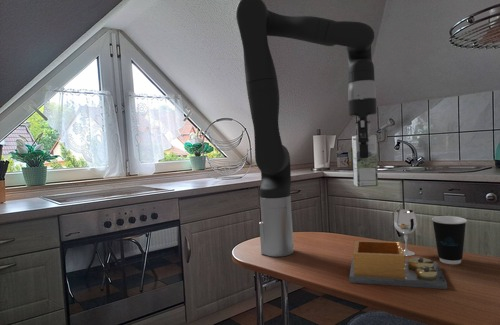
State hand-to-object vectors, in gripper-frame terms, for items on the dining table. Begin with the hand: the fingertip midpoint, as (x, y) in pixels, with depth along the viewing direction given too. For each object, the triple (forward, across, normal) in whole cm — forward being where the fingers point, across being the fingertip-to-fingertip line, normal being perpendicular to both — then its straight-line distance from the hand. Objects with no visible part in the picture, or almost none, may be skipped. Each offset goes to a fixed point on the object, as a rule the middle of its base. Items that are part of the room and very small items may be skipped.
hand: (364, 157), depth 101 cm
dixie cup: (+28, +5, +20) cm, 35 cm away
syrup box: (+8, 0, 0) cm, 8 cm away
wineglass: (+28, 0, +10) cm, 29 cm away
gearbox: (+27, +17, +6) cm, 33 cm away
